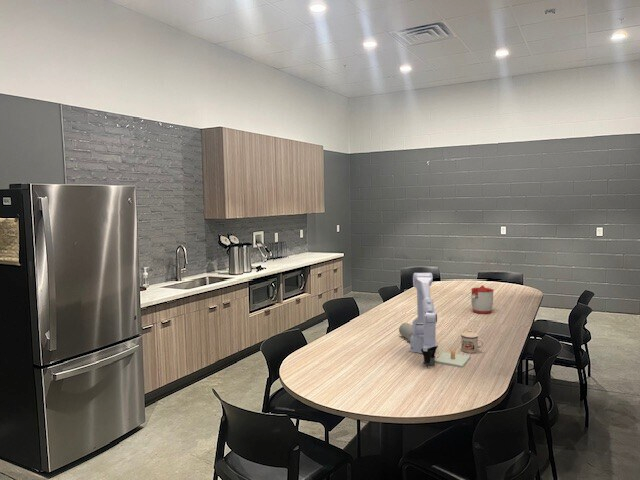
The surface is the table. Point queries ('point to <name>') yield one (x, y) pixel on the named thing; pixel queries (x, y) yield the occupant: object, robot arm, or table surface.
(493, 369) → the table surface
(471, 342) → the teacup with lid
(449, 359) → the pegged green plate
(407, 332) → the bent grey cylinder
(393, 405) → the table surface
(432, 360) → the collar
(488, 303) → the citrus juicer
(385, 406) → the table surface
